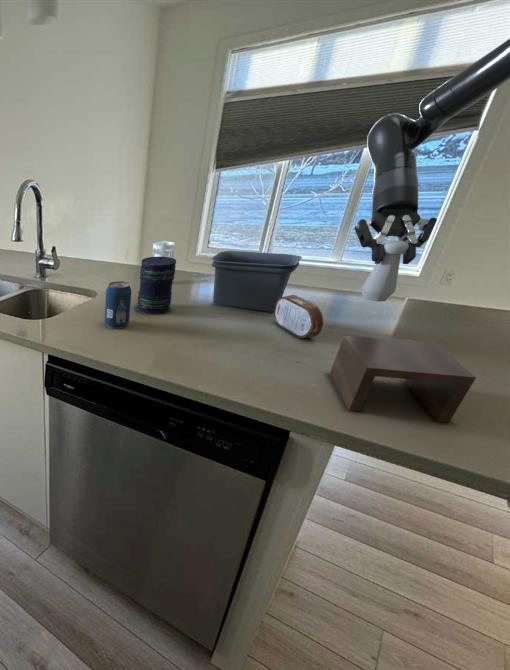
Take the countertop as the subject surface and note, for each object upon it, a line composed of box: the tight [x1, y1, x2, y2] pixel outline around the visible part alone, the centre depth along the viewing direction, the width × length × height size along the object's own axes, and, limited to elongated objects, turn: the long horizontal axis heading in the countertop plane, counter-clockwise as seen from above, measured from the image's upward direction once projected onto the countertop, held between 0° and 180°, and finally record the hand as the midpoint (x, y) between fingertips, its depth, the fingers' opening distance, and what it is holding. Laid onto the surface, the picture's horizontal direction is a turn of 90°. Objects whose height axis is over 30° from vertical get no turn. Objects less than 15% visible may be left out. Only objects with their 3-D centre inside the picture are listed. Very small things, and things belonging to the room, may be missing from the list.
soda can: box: [103, 281, 132, 329], centre depth 114 cm, size 7×7×12 cm
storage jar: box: [136, 256, 177, 315], centre depth 122 cm, size 10×10×15 cm
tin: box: [273, 294, 324, 339], centre depth 102 cm, size 15×3×8 cm, turn 0°
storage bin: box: [211, 250, 302, 313], centre depth 120 cm, size 21×16×14 cm
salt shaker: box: [361, 240, 409, 303], centre depth 91 cm, size 6×6×13 cm
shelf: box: [329, 335, 477, 423], centre depth 75 cm, size 14×14×9 cm
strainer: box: [151, 240, 176, 258], centre depth 144 cm, size 7×7×15 cm
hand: (393, 261), depth 88 cm, fingers closed on salt shaker, 4 cm apart
